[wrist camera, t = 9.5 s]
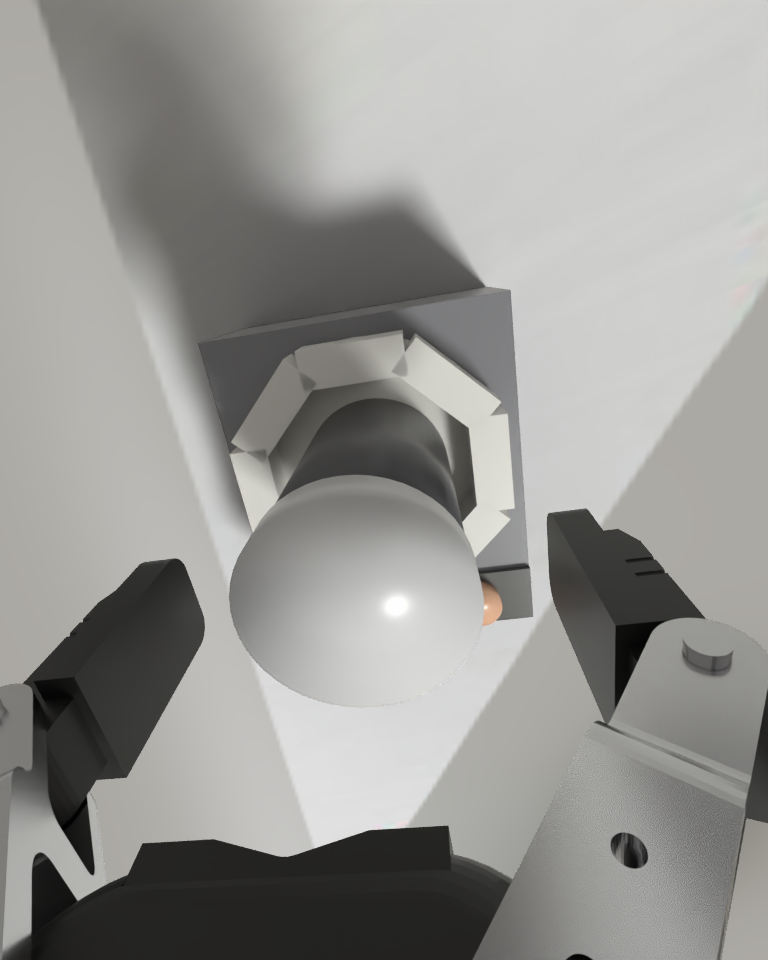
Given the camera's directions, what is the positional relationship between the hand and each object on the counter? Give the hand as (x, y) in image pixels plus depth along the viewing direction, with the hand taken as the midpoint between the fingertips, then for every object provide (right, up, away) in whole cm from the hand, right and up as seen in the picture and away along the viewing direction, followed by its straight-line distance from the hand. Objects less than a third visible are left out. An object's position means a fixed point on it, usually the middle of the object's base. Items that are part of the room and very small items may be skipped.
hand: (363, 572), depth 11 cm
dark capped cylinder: (0, +2, +6) cm, 7 cm away
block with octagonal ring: (+1, +3, +12) cm, 12 cm away
